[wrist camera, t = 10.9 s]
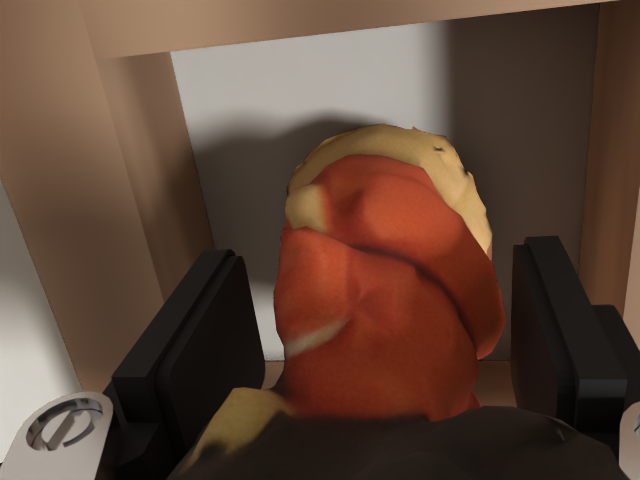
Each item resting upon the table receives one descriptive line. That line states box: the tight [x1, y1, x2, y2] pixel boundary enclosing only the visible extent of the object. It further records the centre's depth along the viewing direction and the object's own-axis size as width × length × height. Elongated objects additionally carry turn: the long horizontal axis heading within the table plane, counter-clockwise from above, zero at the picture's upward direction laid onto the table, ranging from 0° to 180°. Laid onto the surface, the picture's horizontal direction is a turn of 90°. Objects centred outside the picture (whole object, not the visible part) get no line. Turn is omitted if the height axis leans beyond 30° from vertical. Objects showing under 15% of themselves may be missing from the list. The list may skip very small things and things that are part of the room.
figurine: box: [166, 124, 631, 480], centre depth 9 cm, size 6×6×12 cm
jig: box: [0, 0, 640, 408], centre depth 13 cm, size 23×16×4 cm
